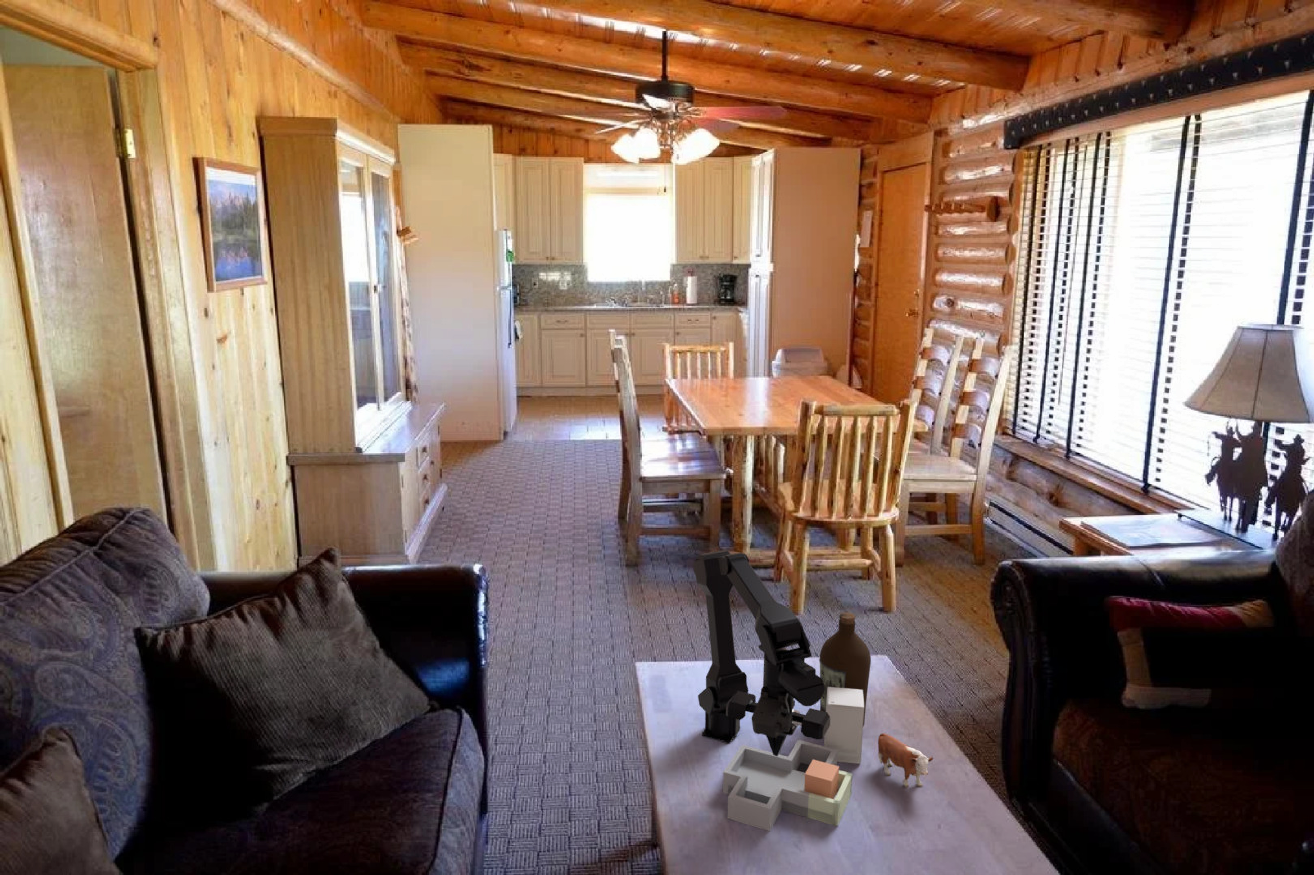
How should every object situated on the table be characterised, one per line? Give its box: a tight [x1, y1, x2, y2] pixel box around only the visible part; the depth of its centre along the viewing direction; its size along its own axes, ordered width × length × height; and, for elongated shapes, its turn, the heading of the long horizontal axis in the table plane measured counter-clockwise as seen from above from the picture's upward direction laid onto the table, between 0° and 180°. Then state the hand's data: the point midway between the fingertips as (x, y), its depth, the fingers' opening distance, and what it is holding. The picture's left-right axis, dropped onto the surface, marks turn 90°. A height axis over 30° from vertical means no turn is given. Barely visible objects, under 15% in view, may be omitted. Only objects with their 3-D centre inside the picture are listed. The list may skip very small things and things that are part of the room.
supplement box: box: [823, 687, 864, 765], centre depth 177 cm, size 7×7×13 cm
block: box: [804, 760, 840, 799], centre depth 161 cm, size 5×5×5 cm
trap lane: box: [722, 739, 853, 832], centre depth 165 cm, size 22×23×4 cm
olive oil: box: [818, 612, 872, 728], centre depth 186 cm, size 11×11×25 cm
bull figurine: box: [877, 732, 934, 788], centre depth 168 cm, size 4×13×8 cm, turn 27°
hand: (776, 754), depth 165 cm, fingers closed
